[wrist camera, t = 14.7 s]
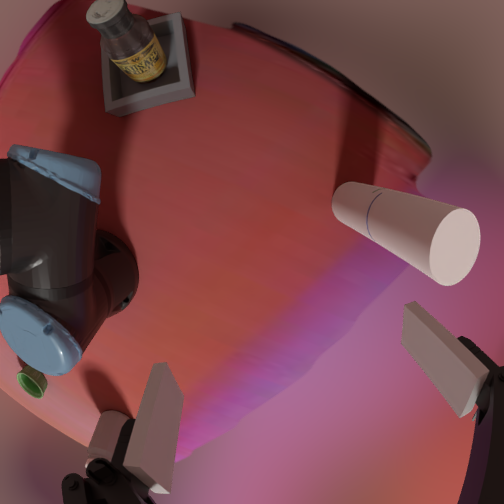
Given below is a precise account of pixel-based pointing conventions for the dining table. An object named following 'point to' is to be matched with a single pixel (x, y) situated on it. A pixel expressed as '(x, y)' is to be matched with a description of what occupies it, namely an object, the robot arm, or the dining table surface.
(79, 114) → the dining table surface
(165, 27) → the grey open box
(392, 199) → the cylindrical container
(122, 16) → the sauce bottle
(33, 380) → the ramekin
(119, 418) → the jar
